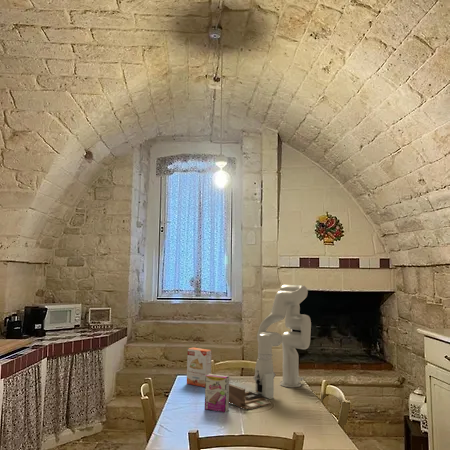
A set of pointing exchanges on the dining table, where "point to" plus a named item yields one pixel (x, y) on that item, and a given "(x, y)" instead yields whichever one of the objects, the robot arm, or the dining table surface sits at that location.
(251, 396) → the gauge carriage
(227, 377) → the candy bar box
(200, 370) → the cracker box
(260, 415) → the dining table surface
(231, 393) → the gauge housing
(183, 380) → the dining table surface
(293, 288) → the robot arm
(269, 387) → the small box
